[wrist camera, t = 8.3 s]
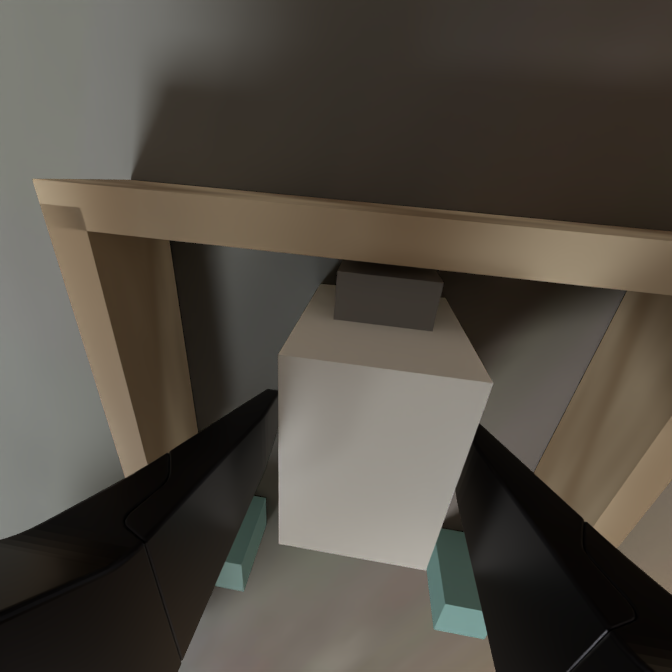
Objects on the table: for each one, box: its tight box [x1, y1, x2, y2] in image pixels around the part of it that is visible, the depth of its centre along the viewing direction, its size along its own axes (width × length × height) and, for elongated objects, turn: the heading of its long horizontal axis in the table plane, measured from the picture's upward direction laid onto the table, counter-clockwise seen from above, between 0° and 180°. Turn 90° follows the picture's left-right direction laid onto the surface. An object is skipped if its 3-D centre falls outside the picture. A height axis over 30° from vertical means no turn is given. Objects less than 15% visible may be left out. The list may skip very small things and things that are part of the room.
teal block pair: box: [215, 496, 487, 639], centre depth 14 cm, size 12×2×3 cm, turn 86°
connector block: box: [278, 259, 493, 570], centre depth 9 cm, size 4×7×5 cm, turn 176°
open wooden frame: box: [32, 179, 672, 548], centre depth 10 cm, size 16×10×3 cm, turn 86°
